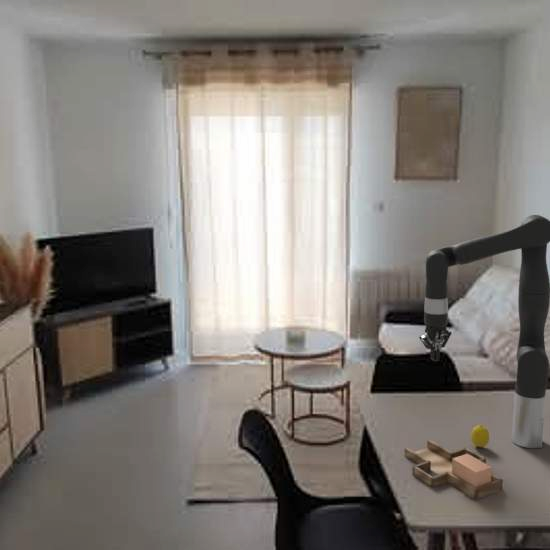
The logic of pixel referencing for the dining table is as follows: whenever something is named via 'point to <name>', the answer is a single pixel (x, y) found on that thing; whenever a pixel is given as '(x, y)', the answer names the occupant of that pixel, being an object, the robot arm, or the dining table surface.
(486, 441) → the lemon
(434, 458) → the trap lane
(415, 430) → the dining table surface
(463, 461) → the block
